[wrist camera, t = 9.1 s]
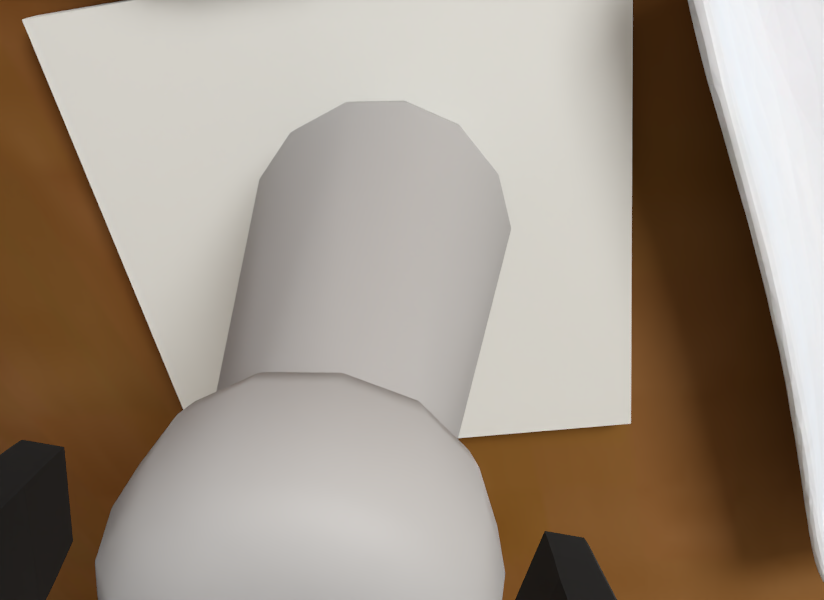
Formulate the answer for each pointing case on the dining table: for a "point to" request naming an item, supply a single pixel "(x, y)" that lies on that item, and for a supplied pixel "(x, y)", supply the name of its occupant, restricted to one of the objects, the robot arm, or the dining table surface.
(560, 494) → the dining table surface
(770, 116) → the salad plate
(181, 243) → the mat
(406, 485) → the salt shaker
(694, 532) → the dining table surface
